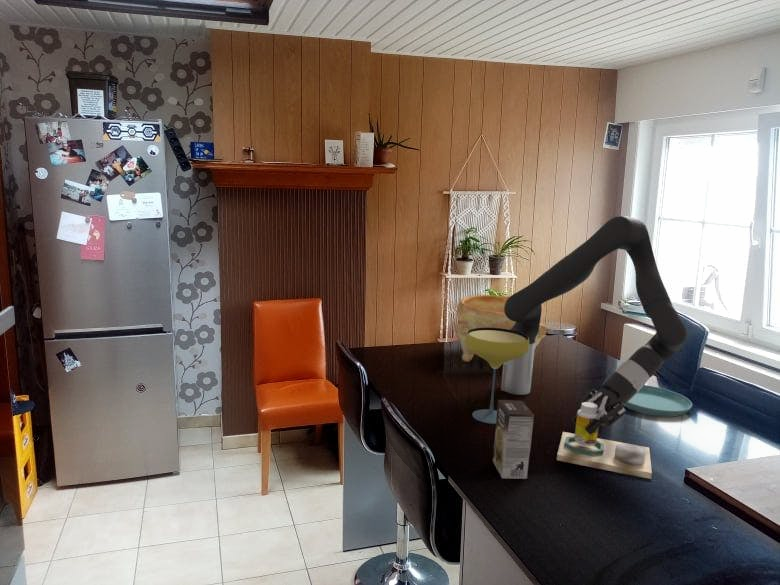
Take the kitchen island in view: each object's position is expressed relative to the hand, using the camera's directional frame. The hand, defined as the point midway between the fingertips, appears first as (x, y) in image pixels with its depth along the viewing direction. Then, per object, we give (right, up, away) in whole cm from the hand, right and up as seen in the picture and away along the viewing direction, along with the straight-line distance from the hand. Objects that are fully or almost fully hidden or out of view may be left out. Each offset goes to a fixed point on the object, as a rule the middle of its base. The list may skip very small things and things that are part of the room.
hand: (580, 426), depth 157 cm
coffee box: (-21, -8, -10) cm, 24 cm away
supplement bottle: (+1, -4, +1) cm, 5 cm away
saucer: (+35, -2, +41) cm, 54 cm away
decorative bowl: (-10, +8, +86) cm, 86 cm away
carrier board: (+6, -8, 0) cm, 10 cm away
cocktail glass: (-20, -2, +23) cm, 30 cm away
